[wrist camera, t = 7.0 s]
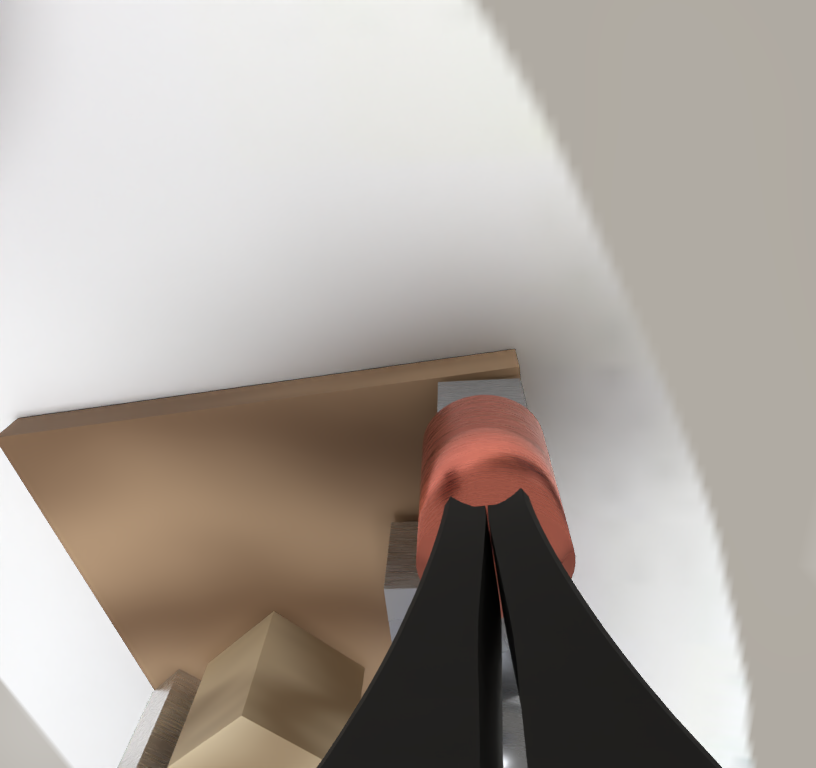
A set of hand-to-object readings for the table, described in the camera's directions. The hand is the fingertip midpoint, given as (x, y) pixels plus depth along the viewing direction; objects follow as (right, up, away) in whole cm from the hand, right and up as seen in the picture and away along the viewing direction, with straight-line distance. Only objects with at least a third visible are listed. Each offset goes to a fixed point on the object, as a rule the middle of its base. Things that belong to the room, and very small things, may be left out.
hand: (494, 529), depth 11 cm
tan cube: (-6, -7, +10) cm, 14 cm away
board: (-4, -5, +9) cm, 11 cm away
